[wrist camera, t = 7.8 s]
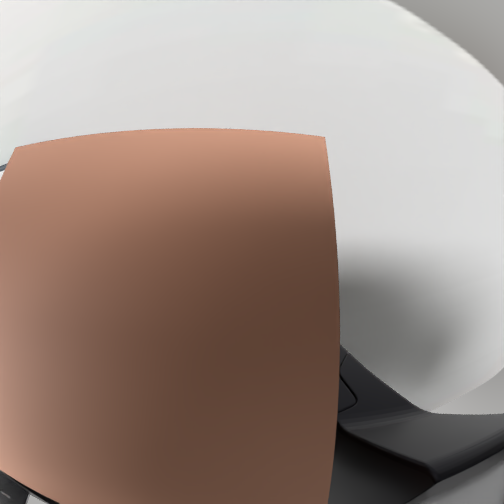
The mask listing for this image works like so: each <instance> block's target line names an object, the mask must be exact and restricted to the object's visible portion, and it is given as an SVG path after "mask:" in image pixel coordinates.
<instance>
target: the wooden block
mask: <svg viewBox="0 0 504 504" xmlns="http://www.w3.org/2000/svg"><path fill="white" fill-rule="evenodd" d="M339 363H340V309H339V278H338V259H337V243H336V230H335V218H334V207H333V197H332V188H331V179H330V171H329V163H328V156H327V149H326V142H325V137H320V136H313V135H304V134H295V133H285V132H273V131H260V130H243V129H212V128H181V129H151V130H134V131H121V132H110V133H100V134H91V135H83V136H76V137H69V138H63V139H56V140H51V141H45V142H40V143H35V144H30V145H25V146H20V147H16V148H15V150H14V152H13V154H12V156H11V158H10V160H9V162H8V164H7V166H6V168H5V171H4V173H3V175H2V177H1V180H0V470H1V471H3V472H4V473H6V474H7V475H9V476H11V477H12V478H14V479H15V480H17V481H19V482H20V483H22V484H24V485H26V486H27V487H29V488H31V489H33V490H34V491H36V492H38V493H40V494H42V495H44V496H46V497H48V498H50V499H52V500H54V501H56V502H58V503H60V504H328V498H329V491H330V483H331V476H332V468H333V459H334V449H335V438H336V426H337V411H338V393H339Z"/></svg>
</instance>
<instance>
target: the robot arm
mask: <svg viewBox="0 0 504 504" xmlns="http://www.w3.org/2000/svg"><path fill="white" fill-rule="evenodd" d="M30 495H32V496H34V497H36V498H37V499H39V500H41V501H43V502H45V503H47V504H60V503H58V502H56V501H54V500H52V499H50V498H48V497H46V496H44V495H42V494H40V493H38V492H36V491H34V490H33V489H31V488H29V487H27V486H26V485H24V484H22V483H20V482H19V481H17V480H15V479H14V478H12V477H11V476H9V475H7V474H6V473H4V472H3V471H1V470H0V504H27V502H28V499H29V496H30ZM328 504H504V413H503V414H492V415H491V414H489V415H488V414H487V415H460V414H458V415H457V414H436V413H431V412H427V411H424V410H422V409H420V408H418V407H417V406H415V405H413V404H412V403H411V402H409V401H408V400H407V399H405V398H404V397H403V396H401V395H400V394H398V393H397V392H396V391H394V390H393V389H392V388H390V387H389V386H388V385H386V384H385V383H384V382H382V381H381V380H380V379H379V378H377V377H376V376H375V375H374V374H372V373H371V372H370V371H369V370H367V369H366V368H365V367H364V366H363V365H362V364H361V363H360V362H358V361H357V360H356V359H355V358H354V357H353V356H352V355H351V354H350V353H348V351H347V350H346V349H345V348H343V347H342V346H341V345H340V363H339V393H338V411H337V426H336V438H335V449H334V459H333V468H332V476H331V483H330V491H329V498H328Z"/></svg>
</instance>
